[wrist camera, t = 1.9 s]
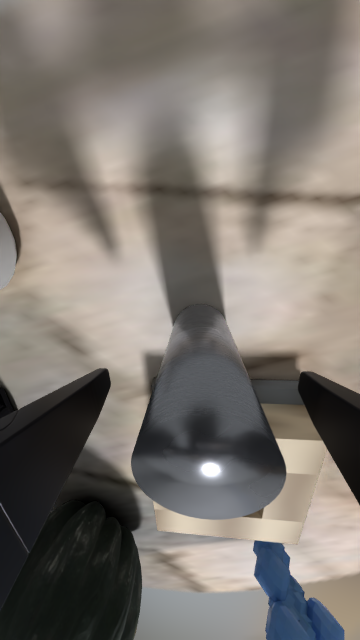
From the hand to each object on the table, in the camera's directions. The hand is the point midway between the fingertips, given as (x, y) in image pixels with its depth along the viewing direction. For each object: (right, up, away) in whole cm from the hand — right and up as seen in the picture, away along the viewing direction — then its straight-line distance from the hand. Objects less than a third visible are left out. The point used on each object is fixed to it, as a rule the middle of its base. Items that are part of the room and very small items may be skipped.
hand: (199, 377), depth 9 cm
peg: (+1, +2, +6) cm, 6 cm away
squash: (-12, -23, +16) cm, 31 cm away
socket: (+3, -9, +9) cm, 13 cm away
